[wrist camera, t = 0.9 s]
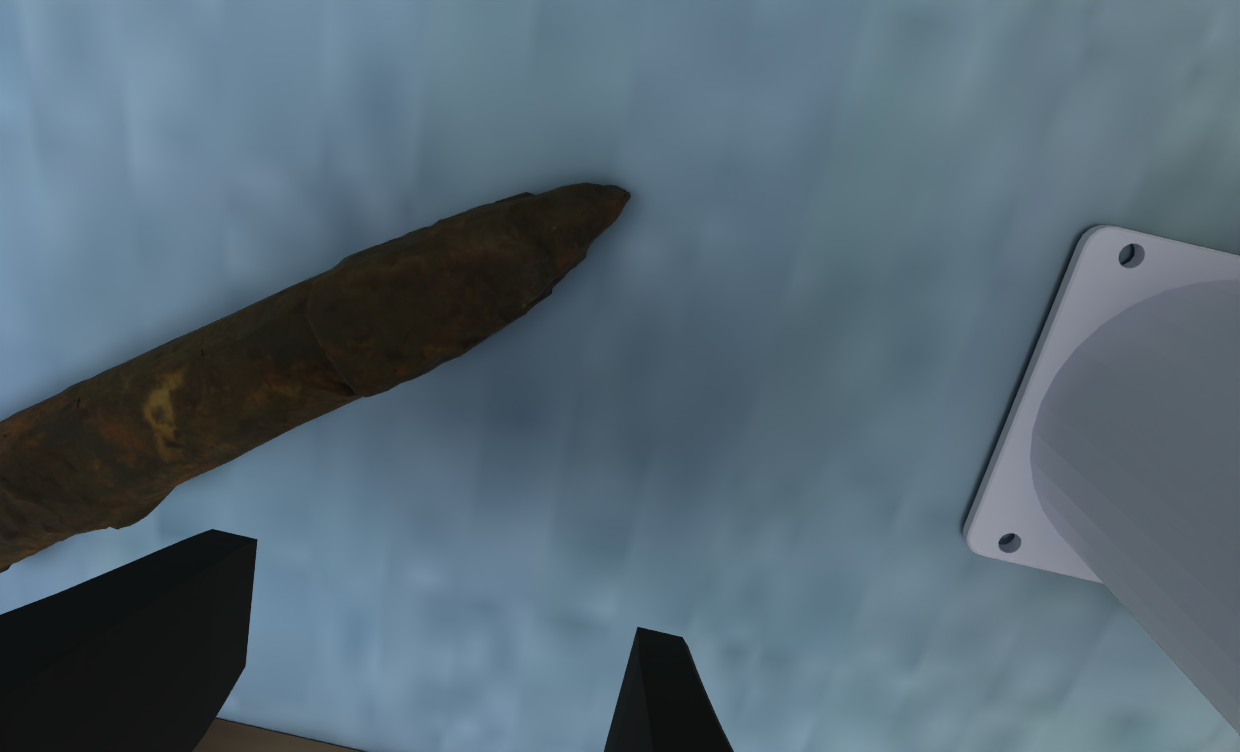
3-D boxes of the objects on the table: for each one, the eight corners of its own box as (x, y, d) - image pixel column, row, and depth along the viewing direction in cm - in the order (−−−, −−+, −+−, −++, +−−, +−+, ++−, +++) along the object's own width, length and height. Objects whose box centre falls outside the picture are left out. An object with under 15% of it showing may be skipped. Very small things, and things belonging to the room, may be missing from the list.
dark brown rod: (26, 558, 23) (-130, 670, 18) (-66, 432, 21) (-254, 518, 17) (674, 300, 19) (676, 360, 15) (606, 135, 18) (586, 148, 14)
